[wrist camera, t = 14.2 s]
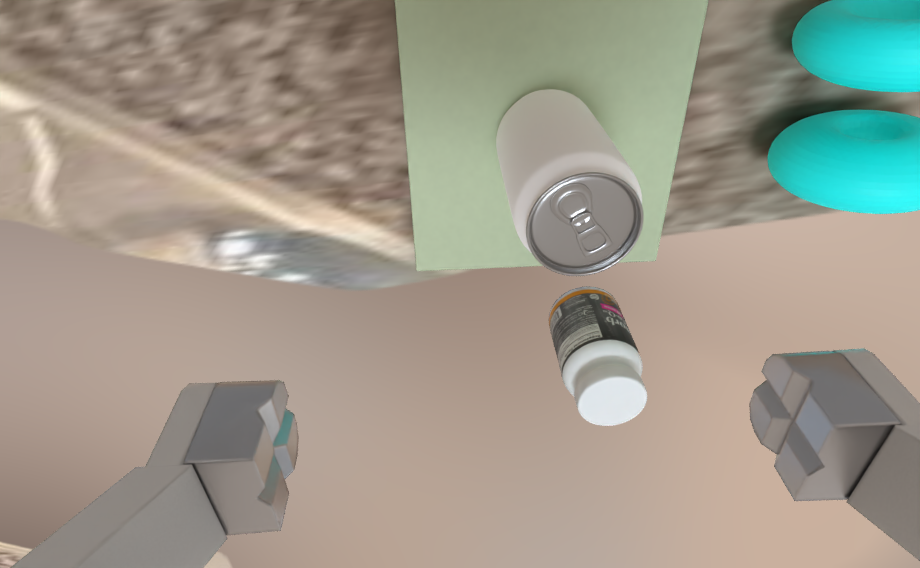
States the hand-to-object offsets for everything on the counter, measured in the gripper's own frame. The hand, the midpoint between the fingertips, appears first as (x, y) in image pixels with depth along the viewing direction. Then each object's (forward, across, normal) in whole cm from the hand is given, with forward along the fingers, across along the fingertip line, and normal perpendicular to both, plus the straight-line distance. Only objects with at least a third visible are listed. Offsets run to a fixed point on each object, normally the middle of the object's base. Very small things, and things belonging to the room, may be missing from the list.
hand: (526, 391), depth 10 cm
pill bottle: (+29, -10, +22) cm, 38 cm away
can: (+29, -6, +7) cm, 30 cm away
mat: (+29, -6, +7) cm, 31 cm away
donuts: (+29, -24, +4) cm, 38 cm away
